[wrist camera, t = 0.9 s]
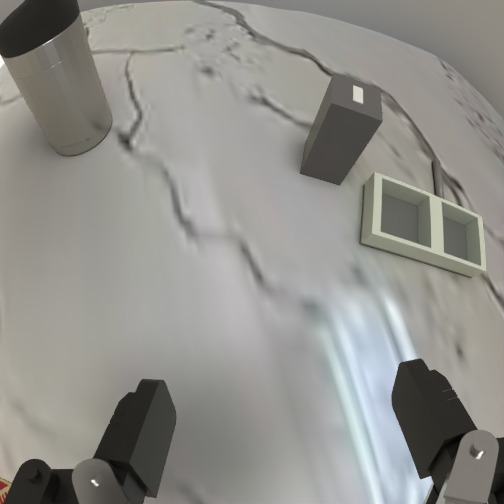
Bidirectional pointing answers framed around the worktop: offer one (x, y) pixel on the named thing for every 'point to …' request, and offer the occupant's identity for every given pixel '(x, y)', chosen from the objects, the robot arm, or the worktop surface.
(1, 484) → the milk carton
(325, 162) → the block
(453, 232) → the two-compartment tray
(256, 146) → the worktop surface
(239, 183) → the worktop surface
